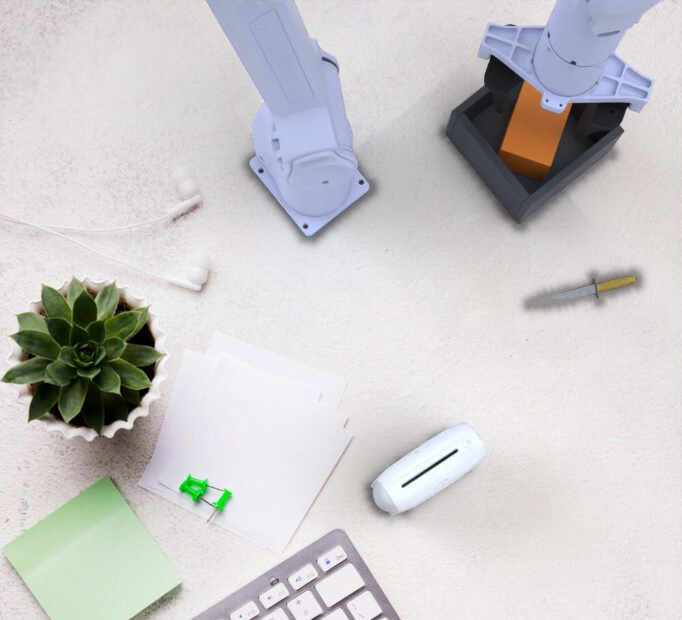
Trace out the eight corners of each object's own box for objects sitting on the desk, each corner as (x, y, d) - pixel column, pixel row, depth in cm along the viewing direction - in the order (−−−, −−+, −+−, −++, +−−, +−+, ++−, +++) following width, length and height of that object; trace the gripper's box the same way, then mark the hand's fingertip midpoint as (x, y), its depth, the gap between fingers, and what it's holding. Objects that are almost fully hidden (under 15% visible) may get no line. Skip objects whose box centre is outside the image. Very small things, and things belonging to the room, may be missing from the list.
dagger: (533, 314, 84) (529, 294, 84) (531, 315, 85) (527, 295, 85) (639, 288, 84) (635, 267, 83) (635, 289, 85) (632, 268, 84)
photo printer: (450, 427, 84) (471, 410, 72) (474, 464, 84) (499, 452, 71) (363, 485, 84) (369, 477, 71) (387, 521, 84) (397, 520, 71)
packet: (493, 165, 84) (500, 149, 80) (516, 98, 84) (524, 79, 81) (541, 181, 84) (550, 166, 80) (564, 115, 84) (574, 97, 81)
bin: (444, 133, 84) (451, 110, 80) (535, 61, 85) (547, 34, 80) (518, 224, 84) (529, 206, 80) (609, 152, 85) (624, 130, 80)
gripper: (477, 47, 65) (452, 130, 79) (656, 110, 65) (600, 182, 79) (507, -38, 66) (477, 59, 79) (685, 24, 66) (624, 111, 79)
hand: (540, 116), depth 79 cm, fingers open, 7 cm apart
